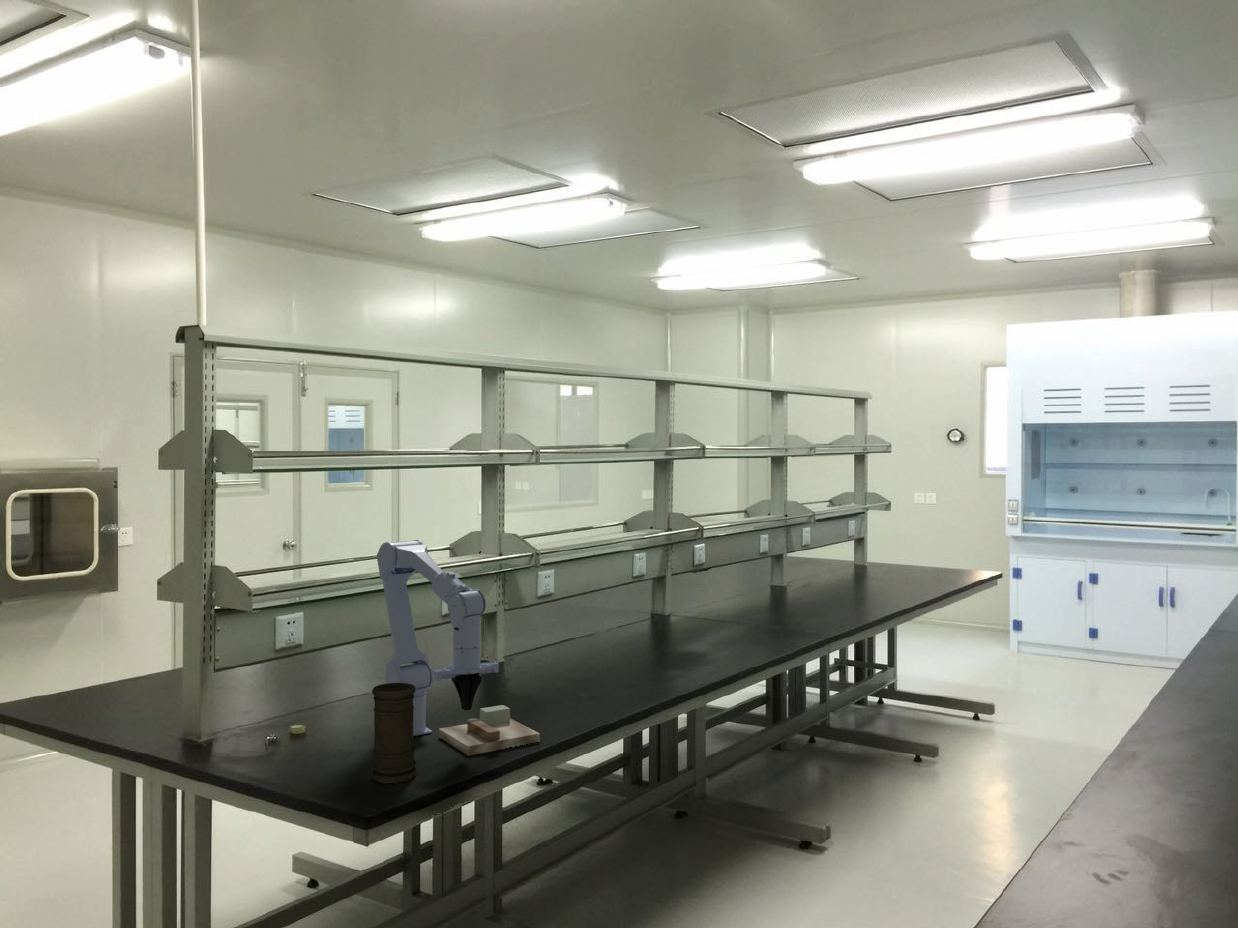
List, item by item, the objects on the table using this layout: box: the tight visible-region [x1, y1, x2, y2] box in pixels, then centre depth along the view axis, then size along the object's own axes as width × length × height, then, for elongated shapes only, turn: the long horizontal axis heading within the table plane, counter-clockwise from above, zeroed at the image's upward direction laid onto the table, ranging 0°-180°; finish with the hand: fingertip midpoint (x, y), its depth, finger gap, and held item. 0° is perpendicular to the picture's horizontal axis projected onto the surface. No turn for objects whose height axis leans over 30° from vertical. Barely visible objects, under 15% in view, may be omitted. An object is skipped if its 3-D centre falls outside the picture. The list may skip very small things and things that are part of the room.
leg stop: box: [479, 704, 511, 725], centre depth 231 cm, size 6×4×3 cm, turn 124°
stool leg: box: [466, 718, 500, 742], centre depth 220 cm, size 12×3×2 cm, turn 34°
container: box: [370, 683, 417, 784], centre depth 199 cm, size 9×9×18 cm
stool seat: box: [438, 717, 541, 756], centre depth 224 cm, size 18×16×2 cm
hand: (466, 708), depth 215 cm, fingers closed
